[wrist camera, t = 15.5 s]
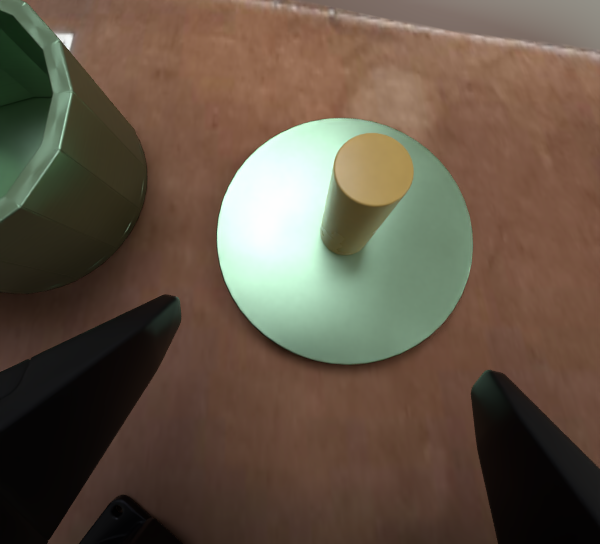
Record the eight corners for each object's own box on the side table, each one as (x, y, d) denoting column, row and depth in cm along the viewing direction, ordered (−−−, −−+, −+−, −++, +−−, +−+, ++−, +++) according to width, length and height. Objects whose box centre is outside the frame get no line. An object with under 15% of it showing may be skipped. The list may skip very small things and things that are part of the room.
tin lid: (440, 392, 16) (566, 450, 8) (188, 324, 16) (96, 321, 9) (479, 159, 18) (604, 40, 11) (259, 107, 19) (233, -39, 11)
